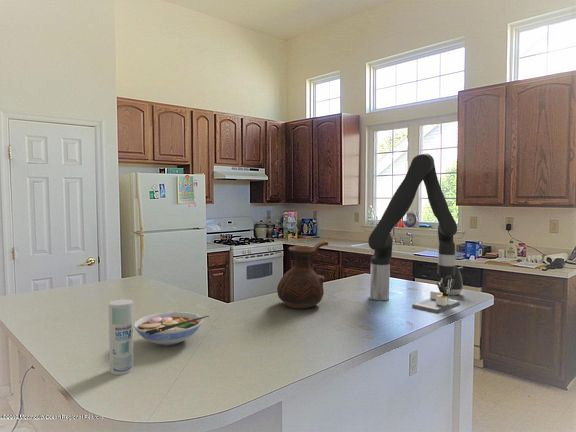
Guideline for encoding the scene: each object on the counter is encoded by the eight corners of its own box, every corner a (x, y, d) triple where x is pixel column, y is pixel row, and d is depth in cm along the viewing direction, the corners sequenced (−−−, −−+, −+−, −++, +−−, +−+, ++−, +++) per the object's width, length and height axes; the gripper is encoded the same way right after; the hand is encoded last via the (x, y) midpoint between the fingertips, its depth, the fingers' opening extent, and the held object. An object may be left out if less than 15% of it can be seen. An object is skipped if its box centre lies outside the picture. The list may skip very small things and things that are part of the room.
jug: (306, 314, 180) (307, 244, 178) (267, 306, 193) (268, 240, 191) (333, 304, 197) (334, 240, 195) (295, 296, 210) (296, 236, 208)
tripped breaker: (444, 305, 189) (444, 297, 189) (435, 304, 192) (436, 295, 192) (447, 304, 191) (447, 296, 191) (439, 303, 194) (439, 294, 194)
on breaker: (438, 299, 200) (438, 292, 199) (430, 298, 203) (430, 291, 202) (441, 298, 202) (441, 291, 201) (433, 297, 205) (433, 290, 204)
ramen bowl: (179, 326, 163) (178, 305, 162) (218, 340, 148) (218, 317, 148) (117, 344, 144) (117, 320, 143) (156, 361, 129) (156, 335, 129)
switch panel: (436, 313, 184) (437, 309, 184) (412, 307, 192) (412, 304, 192) (459, 304, 199) (459, 301, 199) (435, 299, 207) (435, 296, 207)
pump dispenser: (466, 296, 213) (467, 266, 213) (445, 296, 214) (446, 266, 213) (458, 292, 224) (459, 263, 223) (438, 291, 224) (439, 263, 223)
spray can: (112, 376, 118) (111, 306, 117) (107, 369, 123) (106, 301, 122) (136, 371, 122) (135, 302, 121) (130, 363, 127) (129, 298, 126)
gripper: (447, 266, 186) (446, 305, 187) (460, 263, 195) (459, 300, 196) (431, 264, 191) (430, 302, 192) (445, 261, 201) (444, 297, 202)
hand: (445, 301), depth 194 cm, fingers closed
